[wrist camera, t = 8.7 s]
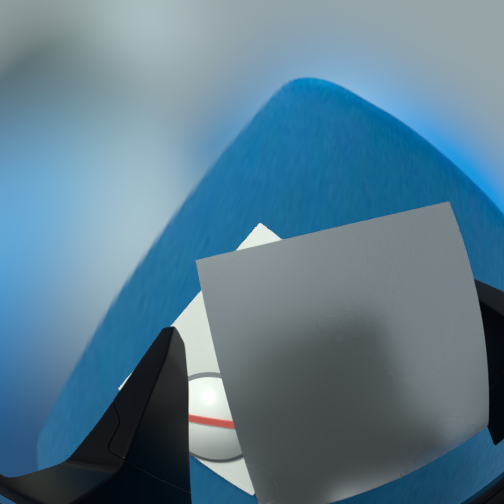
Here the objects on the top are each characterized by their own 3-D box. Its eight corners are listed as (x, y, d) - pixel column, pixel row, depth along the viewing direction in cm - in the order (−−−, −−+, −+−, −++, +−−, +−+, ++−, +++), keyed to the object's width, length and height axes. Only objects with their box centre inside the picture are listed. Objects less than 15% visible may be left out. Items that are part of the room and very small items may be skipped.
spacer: (341, 359, 16) (493, 427, 3) (264, 379, 16) (256, 522, 3) (323, 283, 17) (451, 192, 4) (245, 302, 17) (184, 252, 4)
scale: (395, 326, 18) (409, 326, 16) (253, 483, 16) (251, 499, 14) (267, 222, 20) (268, 210, 18) (129, 383, 18) (114, 389, 16)
